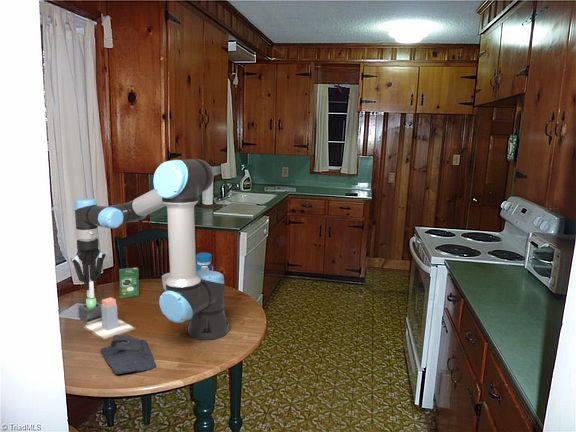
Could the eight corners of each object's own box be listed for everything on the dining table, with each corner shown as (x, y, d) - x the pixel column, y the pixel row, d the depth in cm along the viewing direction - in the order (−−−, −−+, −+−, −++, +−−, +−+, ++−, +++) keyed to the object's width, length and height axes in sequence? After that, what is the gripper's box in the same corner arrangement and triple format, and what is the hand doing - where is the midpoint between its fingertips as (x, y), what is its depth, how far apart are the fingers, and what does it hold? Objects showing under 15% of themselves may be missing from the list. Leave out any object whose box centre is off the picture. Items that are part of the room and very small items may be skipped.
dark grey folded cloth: (107, 382, 128) (106, 367, 127) (99, 349, 147) (98, 336, 146) (159, 370, 135) (159, 356, 134) (145, 340, 154) (145, 327, 153)
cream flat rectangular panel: (136, 329, 161) (136, 326, 161) (103, 341, 151) (103, 338, 151) (113, 316, 172) (113, 313, 172) (81, 326, 162) (80, 324, 162)
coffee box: (138, 293, 196) (137, 266, 193) (139, 296, 193) (138, 268, 191) (119, 296, 192) (118, 268, 189) (120, 298, 189) (119, 270, 187)
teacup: (179, 296, 194) (179, 279, 193) (157, 294, 196) (157, 277, 195) (192, 286, 208) (192, 270, 206) (171, 284, 210) (171, 268, 208)
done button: (98, 310, 169) (97, 298, 168) (89, 313, 166) (88, 301, 166) (94, 308, 171) (93, 296, 171) (85, 310, 169) (84, 298, 168)
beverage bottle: (190, 298, 193) (190, 255, 189) (201, 292, 200) (201, 250, 197) (206, 301, 190) (206, 257, 186) (217, 295, 197) (217, 253, 194)
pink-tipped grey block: (117, 327, 161) (116, 299, 159) (107, 330, 158) (106, 302, 156) (112, 324, 164) (111, 296, 161) (102, 327, 160) (100, 299, 158)
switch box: (105, 317, 170) (104, 305, 169) (87, 323, 165) (86, 311, 164) (96, 312, 174) (95, 301, 173) (79, 317, 169) (78, 306, 168)
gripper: (74, 243, 156) (78, 304, 161) (108, 237, 166) (111, 295, 171) (65, 239, 161) (69, 298, 165) (99, 234, 171) (101, 290, 175)
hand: (90, 296), depth 168 cm, fingers closed
